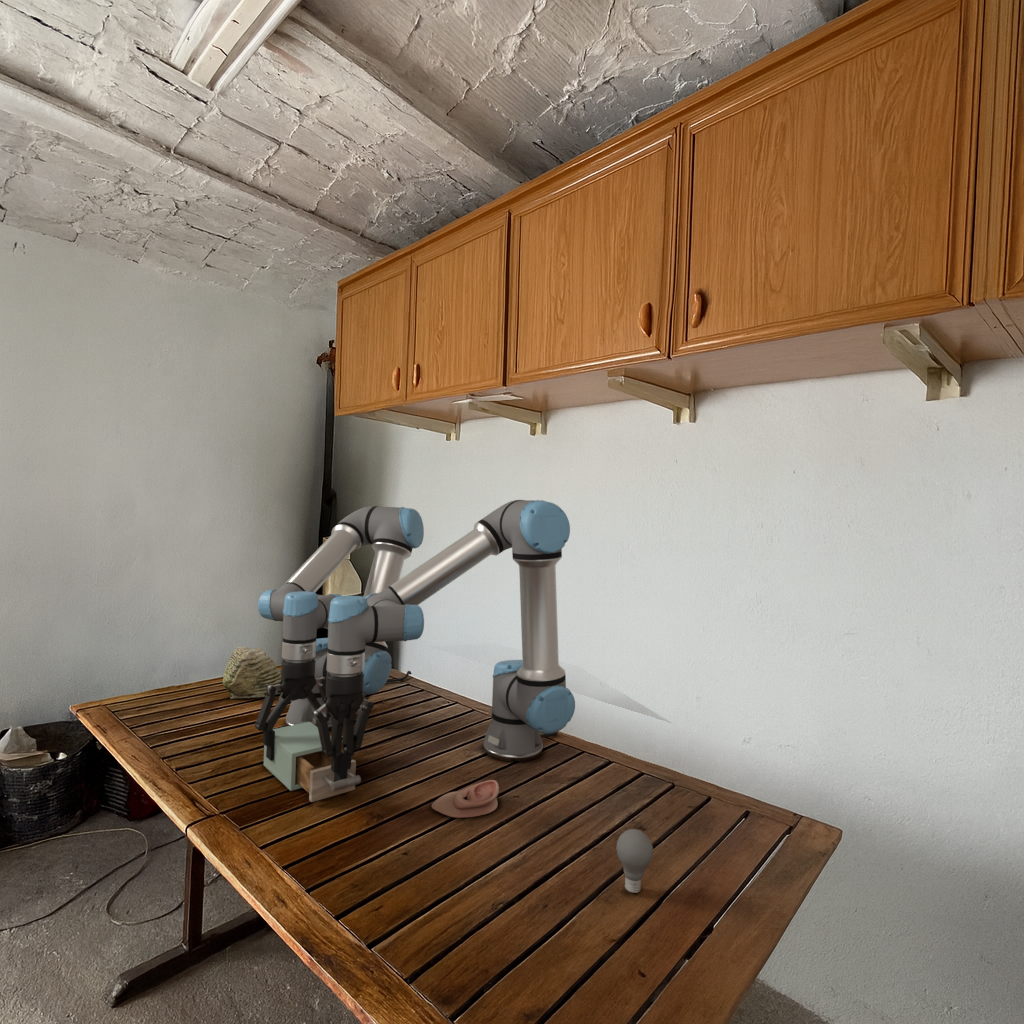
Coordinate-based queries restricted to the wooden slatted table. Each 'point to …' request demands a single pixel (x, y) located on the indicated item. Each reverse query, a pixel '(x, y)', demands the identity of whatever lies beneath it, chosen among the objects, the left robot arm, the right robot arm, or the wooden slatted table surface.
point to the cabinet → (292, 751)
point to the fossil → (250, 673)
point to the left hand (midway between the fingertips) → (295, 752)
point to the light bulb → (634, 857)
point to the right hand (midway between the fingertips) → (340, 785)
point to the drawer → (322, 776)
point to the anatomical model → (469, 800)
